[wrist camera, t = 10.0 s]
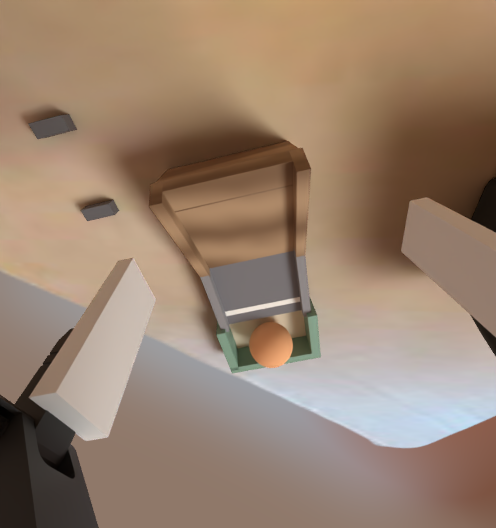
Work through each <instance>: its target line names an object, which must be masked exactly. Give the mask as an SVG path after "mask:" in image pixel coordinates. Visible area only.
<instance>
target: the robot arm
mask: <svg viewBox="0 0 496 528" xmlns="http://www.w3.org/2000/svg"><path fill="white" fill-rule="evenodd" d="M401 252H402V253H403V254H404V255H405V256H406V257H408V258H409V259H410V260H411V261H412V262H413V263H414V264H415V265H416V266H418V267H419V268H420V269H421V270H422V271H423V272H424V273H425V274H426V275H427V276H429V277H430V278H431V279H432V280H433V281H434V282H435V283H436V284H437V285H439V286H440V287H441V288H442V289H443V290H444V291H445V292H446V293H447V294H448V295H450V296H451V297H452V298H453V299H454V300H455V301H456V302H457V303H458V304H459V305H461V306H462V307H463V308H464V309H465V310H466V311H467V312H468V313H469V314H471V315H472V316H473V317H474V318H475V319H476V320H477V321H478V322H479V323H480V324H482V325H483V326H484V327H485V328H486V329H487V330H488V331H489V332H490V333H492V334H493V335H494V336H495V337H496V233H495V232H493V231H492V230H490V229H488V228H486V227H484V226H482V225H480V224H478V223H476V222H474V221H472V220H470V219H468V218H466V217H464V216H462V215H461V214H459V213H457V212H455V211H453V210H451V209H449V208H447V207H445V206H443V205H441V204H439V203H437V202H435V201H433V200H431V199H429V198H428V197H425V198H421V199H416V200H411V201H410V202H409V208H408V214H407V220H406V225H405V231H404V237H403V243H402V248H401ZM155 301H156V299H155V297H154V295H153V293H152V291H151V289H150V288H149V286H148V284H147V282H146V280H145V278H144V276H143V275H142V273H141V271H140V269H139V267H138V265H137V263H136V262H135V260H134V258H130V259H125V260H120V261H118V262H117V263H116V265H115V267H114V268H113V270H112V271H111V273H110V274H109V276H108V277H107V279H106V280H105V282H104V283H103V285H102V286H101V288H100V289H99V291H98V292H97V294H96V296H95V297H94V299H93V300H92V302H91V303H90V305H89V306H88V308H87V309H86V311H85V312H84V314H83V315H82V317H81V318H80V320H79V321H78V323H77V325H76V326H75V328H73V329H70V330H69V331H68V332H67V333H66V334H65V335H64V336H63V337H62V338H61V339H59V341H58V342H57V343H56V345H55V346H54V348H53V349H52V351H51V352H50V355H48V356H47V358H46V359H45V361H44V362H43V366H41V367H40V368H39V370H38V371H37V373H36V374H35V375H34V377H33V378H32V380H31V381H30V383H29V384H28V386H27V387H26V389H25V390H24V392H23V393H22V394H21V396H20V397H19V399H18V400H17V402H16V403H15V404H13V403H11V402H10V401H8V400H7V399H6V398H4V397H3V396H1V395H0V528H98V524H97V521H96V518H95V514H94V511H93V507H92V504H91V501H90V497H89V494H88V490H87V487H86V484H85V480H84V477H83V473H82V470H81V466H80V463H79V460H78V456H77V453H76V450H75V448H74V447H73V446H72V445H71V442H72V439H73V437H74V435H75V433H76V434H77V435H78V436H80V437H81V438H82V439H84V440H85V441H88V440H95V439H101V438H106V437H108V436H109V433H110V430H111V428H112V425H113V422H114V419H115V416H116V413H117V410H118V407H119V405H120V401H121V399H122V396H123V393H124V390H125V387H126V384H127V381H128V378H129V376H130V373H131V370H132V367H133V364H134V361H135V358H136V356H137V353H138V350H139V347H140V344H141V341H142V338H143V335H144V333H145V330H146V327H147V324H148V321H149V318H150V315H151V312H152V310H153V307H154V304H155Z"/></svg>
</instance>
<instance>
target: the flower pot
mask: <svg viewBox="0 0 496 528" xmlns="http://www.w3.org/2000/svg"><path fill="white" fill-rule="evenodd" d="M471 220H472V221H474V222H476V223H478V224H480V225H482V226H484V227H486V228H488V229H490V230H492V231H493V232H495V233H496V178H494V179H492V180H491V181H490V182H489V183H488V184H487V186H486V187H485V190H484V192H483V194H482V197H481V199H480V201H479V203H478V206H477V208H476V210H475V212H474V215H473V217H472V219H471ZM470 315H471V314H470ZM471 316H472V315H471ZM472 318H473V320H474V322H475V324H476V325H477V327H478V329H479V331H480V332H481V334H482V336H483V337H484V339H485V340H486V342H487V343H488V345H489V347H490V348H491V350H492V351H493V353H494V354H495V356H496V337H495V336H494V335H493V334H492V333H490V332H489V331H488V330H487V329H486V328H485V327H484V326H483V325H482V324H480V323H479V322H478V321H477V320H476V319H475V318H474V317H473V316H472Z"/></svg>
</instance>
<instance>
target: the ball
mask: <svg viewBox="0 0 496 528" xmlns="http://www.w3.org/2000/svg"><path fill="white" fill-rule="evenodd" d="M249 348H250V352H251V355H252V356H253V358H254V359H255V361H256V362H258V363H259V364H260V365H262V366H264V367H268V368H275V367H279V366H281V365H283V364H284V363H285V362H286V361H287V360H288V359H289V358H290V356H291V353H292V349H293V342H292V338H291V335H290V333H289V332H288V331H287V329H286V328H285V327H283V326H282V325H280V324H278V323H274V322H267V323H263V324H261V325H259V326H258V327H257V328H255V330H254V331H253V332H252V334H251V337H250V341H249Z"/></svg>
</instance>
